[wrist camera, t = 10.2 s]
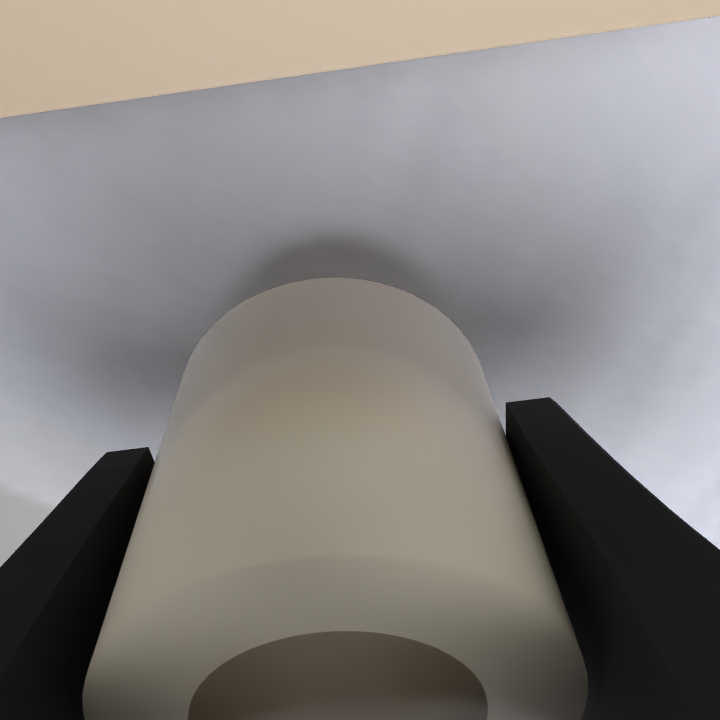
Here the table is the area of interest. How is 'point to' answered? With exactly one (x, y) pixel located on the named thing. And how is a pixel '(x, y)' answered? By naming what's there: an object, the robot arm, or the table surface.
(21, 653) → the robot arm
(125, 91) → the lid
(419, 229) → the table surface
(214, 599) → the beige hollow cylinder
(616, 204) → the table surface
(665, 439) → the table surface
